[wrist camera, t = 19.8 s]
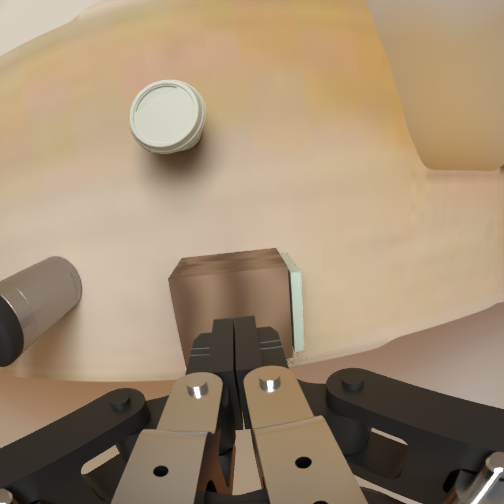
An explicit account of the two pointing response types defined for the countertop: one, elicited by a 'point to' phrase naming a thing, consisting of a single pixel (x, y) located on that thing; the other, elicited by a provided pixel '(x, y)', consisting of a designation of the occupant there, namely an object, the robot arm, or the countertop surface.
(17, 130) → the countertop surface
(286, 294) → the small wooden cabinet
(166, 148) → the coffee cup
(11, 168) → the countertop surface
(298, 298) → the pullout shelf
